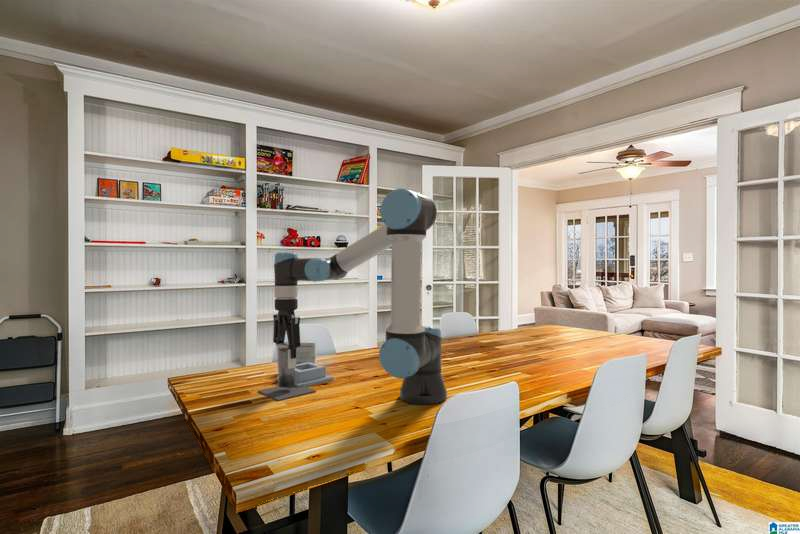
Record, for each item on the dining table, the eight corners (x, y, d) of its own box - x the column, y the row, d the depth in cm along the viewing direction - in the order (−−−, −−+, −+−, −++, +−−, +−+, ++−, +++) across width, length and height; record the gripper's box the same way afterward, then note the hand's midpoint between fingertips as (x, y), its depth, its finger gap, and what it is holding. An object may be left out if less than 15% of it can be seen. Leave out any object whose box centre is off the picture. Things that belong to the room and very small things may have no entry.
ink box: (317, 369, 178) (316, 340, 178) (315, 372, 173) (314, 342, 173) (295, 369, 177) (295, 340, 177) (293, 372, 172) (293, 343, 172)
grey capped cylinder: (300, 385, 147) (299, 343, 147) (282, 389, 142) (282, 346, 142) (290, 381, 151) (289, 341, 151) (273, 385, 147) (273, 343, 147)
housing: (333, 380, 161) (333, 366, 161) (297, 388, 150) (297, 374, 150) (311, 372, 172) (311, 360, 172) (276, 380, 161) (276, 366, 161)
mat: (316, 391, 147) (316, 390, 147) (278, 401, 137) (278, 399, 137) (294, 383, 157) (294, 382, 157) (257, 391, 147) (257, 390, 147)
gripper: (311, 299, 142) (311, 369, 143) (281, 295, 156) (282, 359, 156) (291, 300, 137) (291, 373, 137) (262, 297, 151) (262, 363, 151)
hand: (286, 366), depth 147 cm, fingers closed on grey capped cylinder, 6 cm apart
